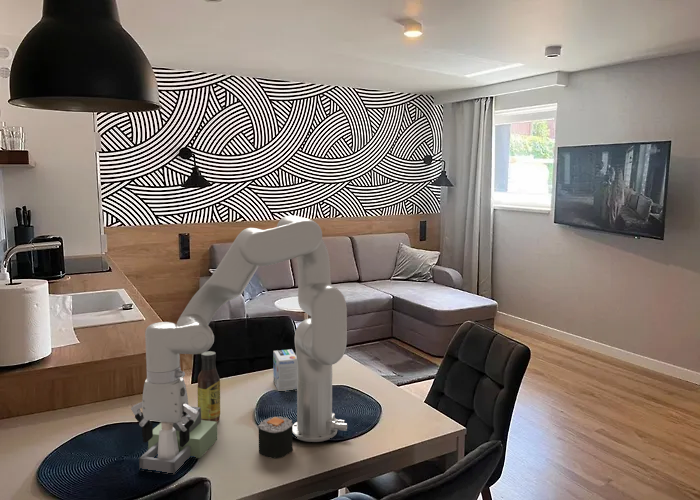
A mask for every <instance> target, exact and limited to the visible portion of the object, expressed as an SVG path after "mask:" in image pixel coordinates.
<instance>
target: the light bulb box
mask: <svg viewBox="0 0 700 500" xmlns="http://www.w3.org/2000/svg"><path fill="white" fill-rule="evenodd" d="M272 355H273V357H272V360H273V365H272V366H273V367H272V368H273V370H272V371H273V372H272V373H273V376H272V377H273V382H274V384H275V387H276V391H277V392H278V391H285V392H287V391H286V390H293V389H297V357H296V352H294V350H293V349H292V348H291V349H290V348H289V349H281V350H273V353H272Z"/></svg>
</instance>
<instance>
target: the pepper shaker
mask: <svg viewBox="0 0 700 500" xmlns="http://www.w3.org/2000/svg"><path fill="white" fill-rule="evenodd" d="M160 423H161V424H162V429H161V430H160V431H159V442H158V456H157V458H162V459H170V460H173V459H174V458H175V457H176V456H177V455H178V454H179V449H178V443H177V436H176V430H175V428H174V427H173V423H168V422H160Z"/></svg>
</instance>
